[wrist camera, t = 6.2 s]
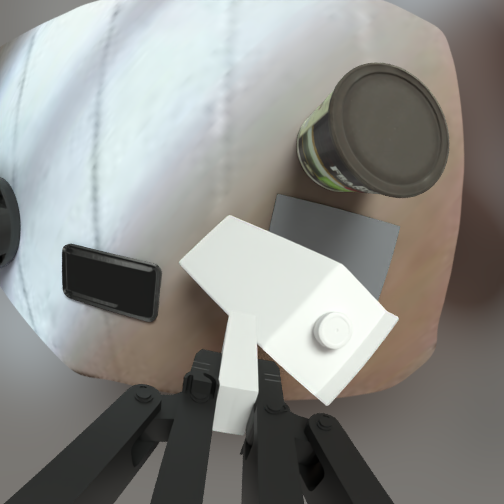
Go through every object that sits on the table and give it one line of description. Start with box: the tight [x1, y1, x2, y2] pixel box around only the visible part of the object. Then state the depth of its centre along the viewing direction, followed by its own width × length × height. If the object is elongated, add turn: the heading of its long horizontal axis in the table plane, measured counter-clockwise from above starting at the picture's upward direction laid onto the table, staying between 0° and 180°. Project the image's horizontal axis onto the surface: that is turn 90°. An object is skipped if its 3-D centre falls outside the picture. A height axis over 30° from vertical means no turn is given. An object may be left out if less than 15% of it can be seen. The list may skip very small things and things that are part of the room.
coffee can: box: [297, 63, 449, 198], centre depth 23 cm, size 10×10×14 cm
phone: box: [62, 244, 162, 322], centre depth 33 cm, size 8×1×15 cm
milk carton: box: [179, 215, 399, 406], centre depth 23 cm, size 7×7×19 cm
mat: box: [269, 194, 400, 301], centre depth 33 cm, size 16×16×1 cm
